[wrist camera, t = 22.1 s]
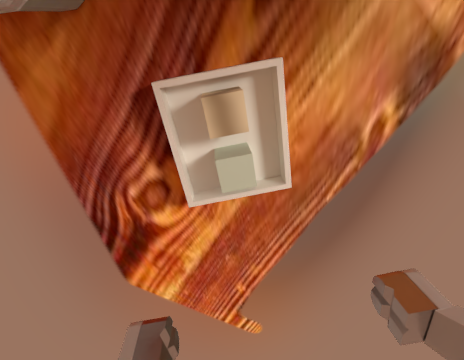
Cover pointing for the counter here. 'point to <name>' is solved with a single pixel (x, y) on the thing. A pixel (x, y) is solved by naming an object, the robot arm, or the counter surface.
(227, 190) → the sage block
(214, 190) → the tray
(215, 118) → the maple block
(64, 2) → the disposable coffee cup
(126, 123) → the counter surface
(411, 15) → the counter surface
